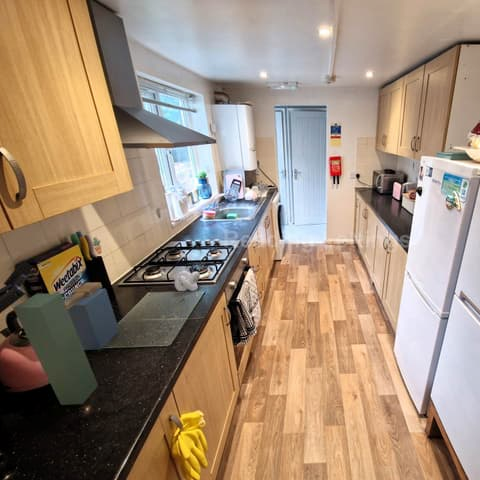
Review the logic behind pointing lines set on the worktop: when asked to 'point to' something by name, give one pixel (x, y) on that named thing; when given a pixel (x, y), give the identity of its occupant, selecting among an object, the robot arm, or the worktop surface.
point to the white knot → (186, 281)
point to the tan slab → (82, 293)
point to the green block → (57, 347)
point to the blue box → (94, 320)
